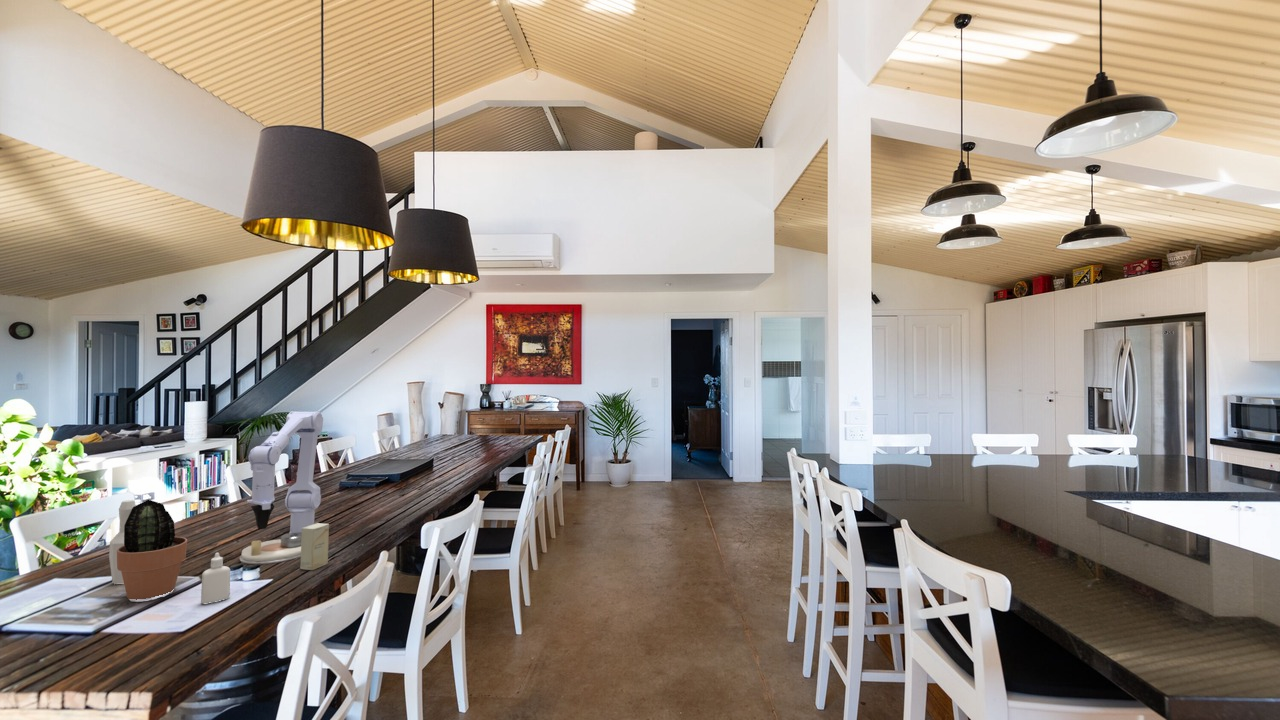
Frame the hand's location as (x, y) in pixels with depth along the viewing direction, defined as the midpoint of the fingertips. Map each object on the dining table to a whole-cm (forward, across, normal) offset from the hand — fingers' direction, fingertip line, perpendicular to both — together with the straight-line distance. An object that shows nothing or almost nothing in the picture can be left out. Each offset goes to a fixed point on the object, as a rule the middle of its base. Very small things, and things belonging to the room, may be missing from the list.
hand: (262, 528), depth 169 cm
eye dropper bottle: (+9, +30, -13) cm, 34 cm away
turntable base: (+9, -2, +4) cm, 10 cm away
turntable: (+9, -2, +4) cm, 10 cm away
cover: (+7, -1, +9) cm, 11 cm away
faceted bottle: (+10, -1, -31) cm, 32 cm away
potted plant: (+9, +16, -25) cm, 31 cm away
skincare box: (+10, +18, +11) cm, 23 cm away
